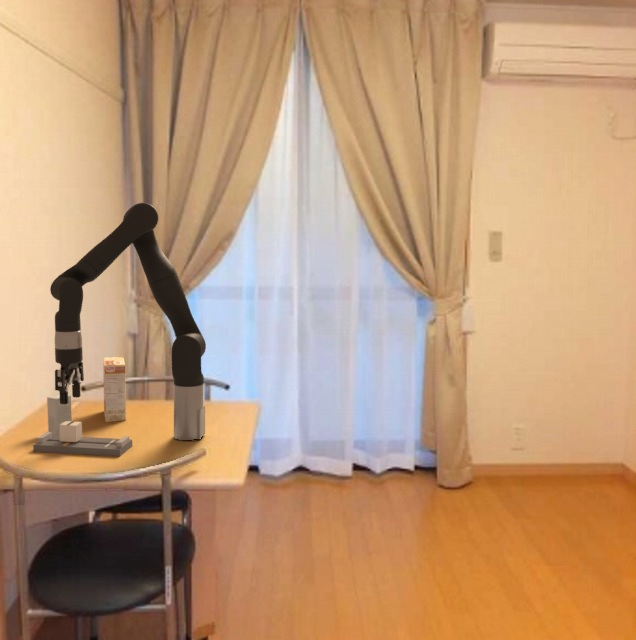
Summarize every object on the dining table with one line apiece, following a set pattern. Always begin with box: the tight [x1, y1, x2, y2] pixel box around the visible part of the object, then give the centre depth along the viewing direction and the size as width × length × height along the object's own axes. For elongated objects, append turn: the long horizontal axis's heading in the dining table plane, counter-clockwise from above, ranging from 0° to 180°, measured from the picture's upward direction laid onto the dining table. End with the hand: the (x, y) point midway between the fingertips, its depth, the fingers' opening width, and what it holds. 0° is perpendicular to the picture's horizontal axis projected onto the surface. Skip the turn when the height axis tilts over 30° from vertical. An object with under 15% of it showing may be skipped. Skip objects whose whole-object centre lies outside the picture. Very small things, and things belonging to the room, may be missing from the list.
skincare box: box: [46, 393, 73, 436], centre depth 224 cm, size 6×4×12 cm
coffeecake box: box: [103, 356, 127, 423], centre depth 245 cm, size 15×7×20 cm, turn 18°
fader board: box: [32, 431, 133, 457], centre depth 209 cm, size 26×10×4 cm, turn 85°
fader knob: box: [59, 420, 83, 442], centre depth 209 cm, size 5×4×5 cm
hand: (70, 400), depth 207 cm, fingers open, 8 cm apart
